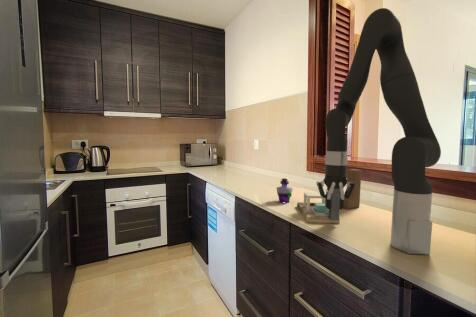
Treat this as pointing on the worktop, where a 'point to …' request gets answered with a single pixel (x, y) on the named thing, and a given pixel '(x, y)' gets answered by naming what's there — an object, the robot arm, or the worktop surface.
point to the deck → (311, 217)
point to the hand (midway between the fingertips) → (334, 208)
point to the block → (320, 207)
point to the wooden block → (354, 198)
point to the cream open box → (311, 195)
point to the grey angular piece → (331, 207)
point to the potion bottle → (284, 191)
